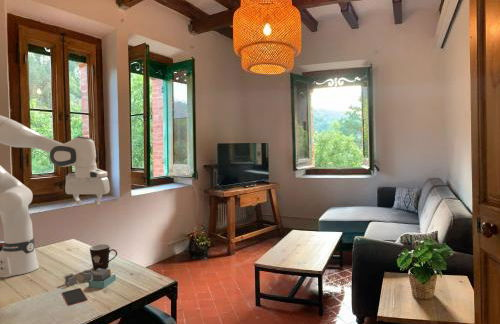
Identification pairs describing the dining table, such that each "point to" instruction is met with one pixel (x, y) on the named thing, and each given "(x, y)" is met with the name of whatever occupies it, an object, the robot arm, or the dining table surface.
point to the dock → (102, 282)
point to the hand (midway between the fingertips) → (88, 204)
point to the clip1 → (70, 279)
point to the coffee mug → (101, 256)
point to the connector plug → (102, 275)
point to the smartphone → (74, 296)
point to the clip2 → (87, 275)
